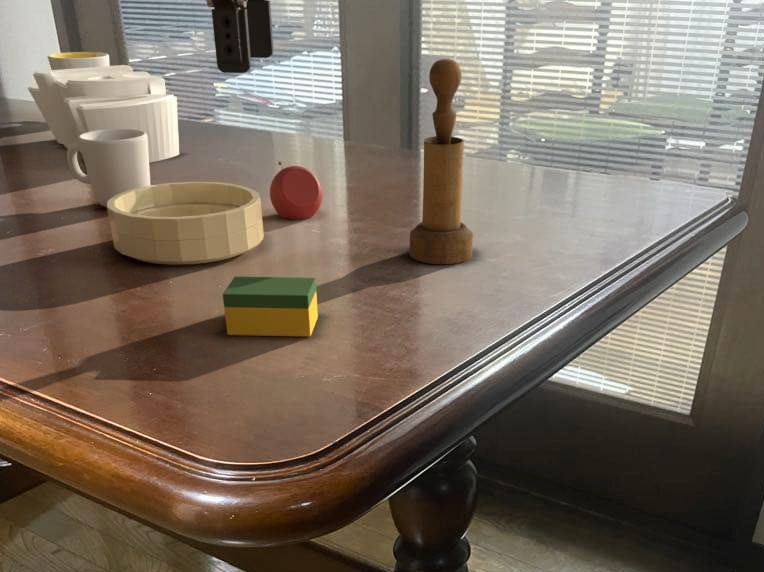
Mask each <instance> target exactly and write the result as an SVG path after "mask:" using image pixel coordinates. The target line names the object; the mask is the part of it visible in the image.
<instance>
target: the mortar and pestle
mask: <svg viewBox="0 0 764 572" xmlns="http://www.w3.org/2000/svg"><path fill="white" fill-rule="evenodd" d="M428 76H429V77H428V79H429V84H430V87H431V89H432V91H433V93H434V95H435V98H436V108H435V110H434V111H433V112H432V115H431V116H432V122H433V127H434V128H433V129H434V132H435V135H433V136H429V137H427V138H424V139H423V184H422V185H423V190H422V217H421V218H422V220H421V222H419V223H418V224H417V225H416V226H415V227H414V228H413V229H411V230H410V232H409V256H410V258H412V259H413V260H415V261H418V262H420V263H425V264H431V265H452V264H460V263H463V262H466V261H468V260H470V259H471V258H472V256H473V248H474V247H473V246H474V234H473V231H472V230H471V229H469V228H468V227H467V225H466V224H465V223H464V222H461V220H462V218H461V217H462V195H463V174H464V173H463V172H464V171H463V170H464V147H465V141H464V139H463V138H460V137H457V136H452V135H453V132H454V129H455V128H454V127H455V124H456V121H457V112H455V111H454V109H453V100H454V97H455V95H456V93H457V92H458V89H459V87H460V85H461V82H462V70H461V68H460V65H459V63H458V62H457V61H456V60H454V59H451V58H441V59H438V60H436V61H435V62H433V64H431V67H430V69H429V75H428Z"/></svg>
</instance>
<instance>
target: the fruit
mask: <svg viewBox="0 0 764 572" xmlns="http://www.w3.org/2000/svg"><path fill="white" fill-rule="evenodd" d="M282 164H283V162H282V161H278V165H279V166H281V170H279V171H278V172H277V173H276V174H275V175H274V177H273V179H272V181H271V184H270V187H269V197H270V202H271V204H272V207H273V209H274V210H275V212H276V213H277V214H278V215H279V216H280V217H281V218H284V219H287V220H306V219H307V220H308V219H310V218H312V217H315V215H316V214H317V213H318V211H319V209H320V207H321V205H322V201H323V189H322V185H321V182H320V181H319V179H318V177H317V176H316V175H315V173H313V172H312V171H311V170H310V169H308V168H306V167H304V166H299V165H290V166H287V167H284V168H283V165H282Z"/></svg>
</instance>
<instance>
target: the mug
mask: <svg viewBox="0 0 764 572" xmlns="http://www.w3.org/2000/svg"><path fill="white" fill-rule="evenodd" d="M46 57H47V60H48V62H49V63H48V64H49V66H50V70H62V69H75V68H89V67H103V66H111V64H110V55H109V54H108V53H106V52H98V51H97V52H96V51H70V52H55V53H50V54H47V56H46Z"/></svg>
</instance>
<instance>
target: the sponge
mask: <svg viewBox="0 0 764 572" xmlns="http://www.w3.org/2000/svg"><path fill="white" fill-rule="evenodd" d="M222 302H223V309H224V316H225V325H226V333H227V335H228V336H261V337H263V336H266V337H267V336H268V337H308V338H309V337H311V336H312V333H313V331H314V328H315V325H316V323H317V320H318V318H319V311H318V296H317V279H316V277H285V276H284V277H279V276H278V277H277V276H234V277H233V278H232V279H231V281H230V282H229V284H228V285H227V287H226V289H225V290H224V292H223V293H222Z"/></svg>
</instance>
